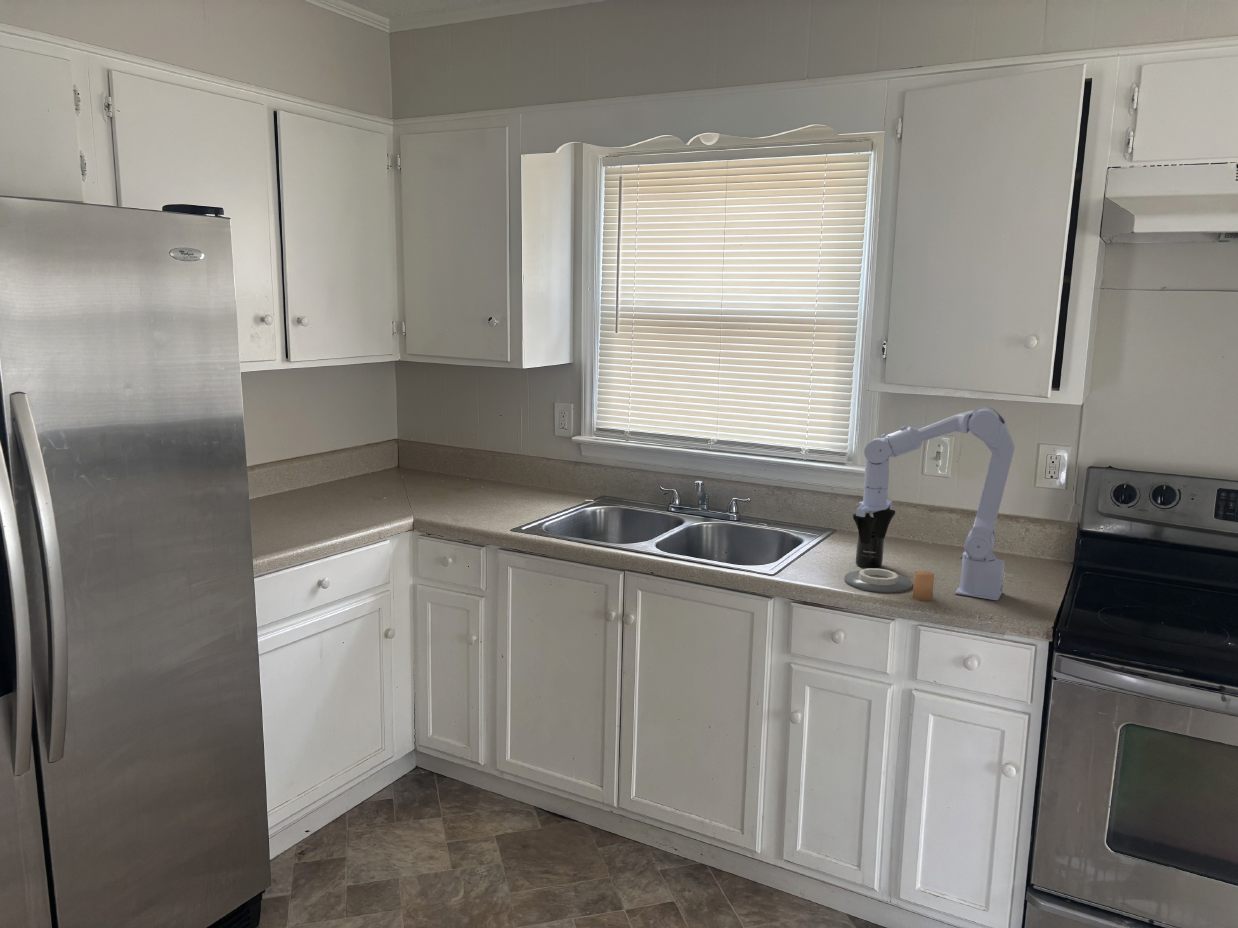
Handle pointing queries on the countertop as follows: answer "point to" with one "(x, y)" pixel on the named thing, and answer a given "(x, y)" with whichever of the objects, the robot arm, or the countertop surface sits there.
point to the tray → (878, 588)
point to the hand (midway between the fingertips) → (872, 540)
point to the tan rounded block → (923, 585)
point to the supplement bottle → (870, 552)
